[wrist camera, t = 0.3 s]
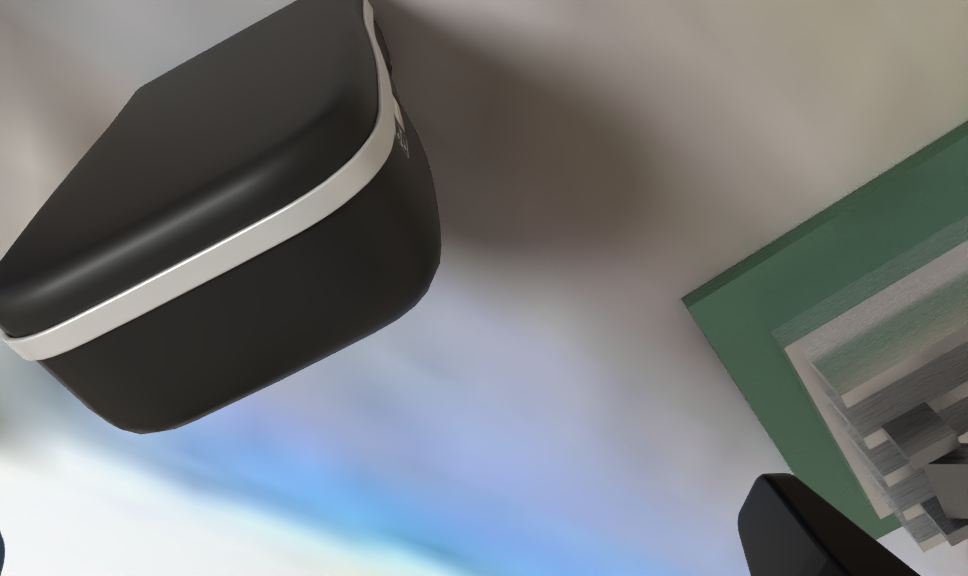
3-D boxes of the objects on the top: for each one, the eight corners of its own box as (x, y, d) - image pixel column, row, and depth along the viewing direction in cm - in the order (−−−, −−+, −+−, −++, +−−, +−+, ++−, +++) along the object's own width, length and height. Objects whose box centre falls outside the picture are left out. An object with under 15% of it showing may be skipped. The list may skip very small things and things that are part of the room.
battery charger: (214, 205, 22) (110, 506, 12) (125, 91, 20) (-83, 346, 10) (425, 94, 21) (491, 322, 11) (356, -36, 19) (365, 109, 9)
